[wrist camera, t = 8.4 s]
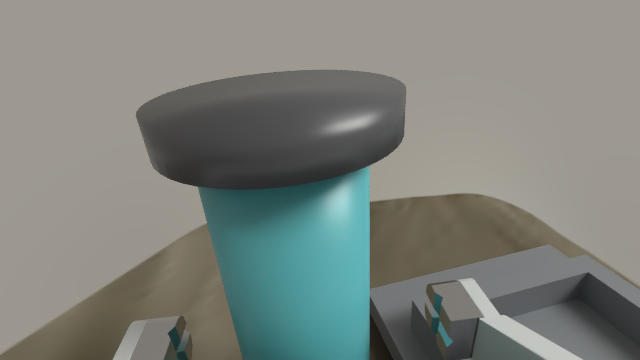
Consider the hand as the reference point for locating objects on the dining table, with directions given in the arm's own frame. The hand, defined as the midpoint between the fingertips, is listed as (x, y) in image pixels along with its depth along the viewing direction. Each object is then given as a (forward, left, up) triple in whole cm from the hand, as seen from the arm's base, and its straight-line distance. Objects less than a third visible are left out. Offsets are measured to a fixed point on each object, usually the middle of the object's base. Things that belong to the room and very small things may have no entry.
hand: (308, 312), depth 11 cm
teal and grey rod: (0, 0, -9) cm, 9 cm away
